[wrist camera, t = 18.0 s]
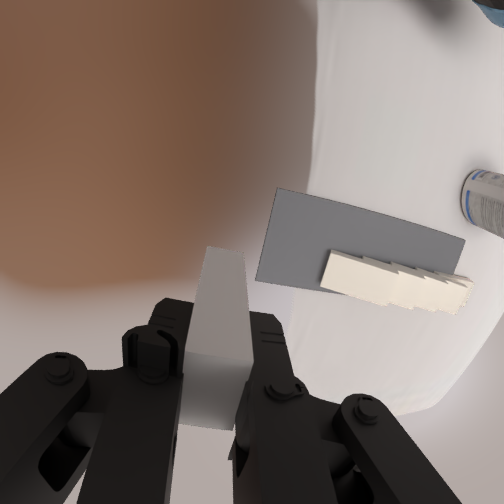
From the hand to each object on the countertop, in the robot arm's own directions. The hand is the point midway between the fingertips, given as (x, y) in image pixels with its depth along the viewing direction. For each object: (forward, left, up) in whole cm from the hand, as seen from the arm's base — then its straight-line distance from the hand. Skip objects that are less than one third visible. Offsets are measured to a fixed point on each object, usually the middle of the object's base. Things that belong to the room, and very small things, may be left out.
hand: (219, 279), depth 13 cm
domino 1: (+8, +15, -25) cm, 30 cm away
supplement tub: (-9, +40, -27) cm, 49 cm away
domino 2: (+8, +20, -25) cm, 33 cm away
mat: (+6, +23, -26) cm, 35 cm away
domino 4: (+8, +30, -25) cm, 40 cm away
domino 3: (+8, +25, -25) cm, 36 cm away
